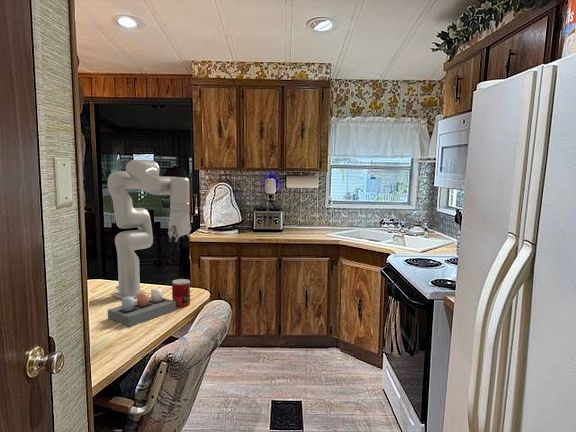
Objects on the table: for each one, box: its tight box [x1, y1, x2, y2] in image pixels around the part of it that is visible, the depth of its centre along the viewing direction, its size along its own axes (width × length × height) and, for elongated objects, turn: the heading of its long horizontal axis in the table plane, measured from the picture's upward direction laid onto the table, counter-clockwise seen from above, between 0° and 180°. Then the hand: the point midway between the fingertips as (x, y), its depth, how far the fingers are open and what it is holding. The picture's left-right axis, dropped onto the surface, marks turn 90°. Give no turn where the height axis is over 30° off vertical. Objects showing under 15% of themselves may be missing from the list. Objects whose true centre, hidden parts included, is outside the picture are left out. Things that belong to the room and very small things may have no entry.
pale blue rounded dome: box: [121, 296, 135, 311], centre depth 154 cm, size 5×5×4 cm
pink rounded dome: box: [136, 291, 150, 306], centre depth 160 cm, size 5×5×4 cm
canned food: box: [171, 278, 191, 308], centre depth 174 cm, size 8×8×11 cm
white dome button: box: [150, 287, 163, 302], centre depth 166 cm, size 5×5×4 cm
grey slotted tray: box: [107, 296, 177, 328], centre depth 161 cm, size 14×23×4 cm, turn 147°
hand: (180, 249), depth 157 cm, fingers open, 9 cm apart
